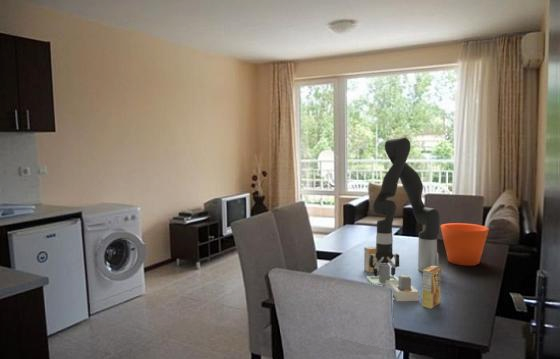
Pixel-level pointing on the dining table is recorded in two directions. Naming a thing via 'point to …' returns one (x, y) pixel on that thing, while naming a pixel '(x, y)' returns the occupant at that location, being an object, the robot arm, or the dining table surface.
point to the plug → (384, 272)
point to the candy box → (431, 286)
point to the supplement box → (366, 258)
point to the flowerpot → (464, 242)
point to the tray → (376, 279)
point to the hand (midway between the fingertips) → (384, 275)
